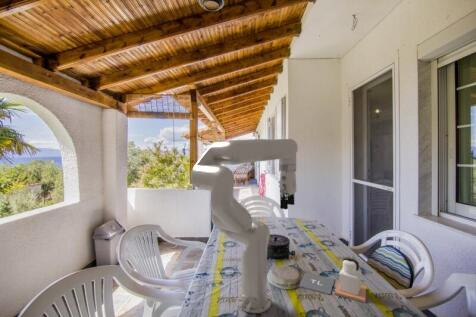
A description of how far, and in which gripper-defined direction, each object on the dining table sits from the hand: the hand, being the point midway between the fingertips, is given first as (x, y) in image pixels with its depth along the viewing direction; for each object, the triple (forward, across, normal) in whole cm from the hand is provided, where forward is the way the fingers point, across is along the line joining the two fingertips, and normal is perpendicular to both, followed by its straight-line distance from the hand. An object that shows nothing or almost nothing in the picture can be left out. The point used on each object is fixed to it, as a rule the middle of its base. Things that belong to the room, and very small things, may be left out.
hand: (287, 206), depth 108 cm
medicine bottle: (+32, +4, -25) cm, 41 cm away
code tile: (+33, +4, -12) cm, 36 cm away
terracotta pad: (+33, +4, -26) cm, 42 cm away
